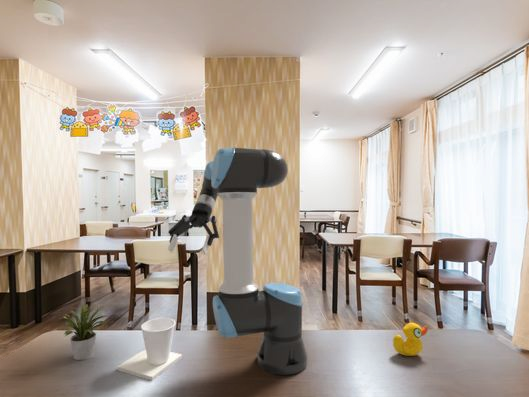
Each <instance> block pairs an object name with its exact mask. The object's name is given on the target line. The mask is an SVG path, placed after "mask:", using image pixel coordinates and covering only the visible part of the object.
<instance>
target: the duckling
mask: <svg viewBox="0 0 529 397" xmlns="http://www.w3.org/2000/svg"><path fill="white" fill-rule="evenodd" d="M428 331H429V330H428V326H427V325H424V327H421V326H420V325H419V324H417V323H415V322H409V323H407V324H405V325H404V326H403V328H402V332H403V334H404V336H405V337H406V339H405V340H404V339H403V337H402V336H401V335H400V334H396V335H395V336H394V337H393V339H392V344H393V345H392V346H393V349H394V350H395V351H396V352H397V353H398V354H399V355H403V356H406V357H414V356H418V355H419V353H420V352H422V350H423V345H424V344H423V342H422V341H421V337H423V336H425V335H426V334H427V333H428Z"/></svg>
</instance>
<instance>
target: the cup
mask: <svg viewBox="0 0 529 397" xmlns="http://www.w3.org/2000/svg"><path fill="white" fill-rule="evenodd" d="M175 326H176V321H175V319H173V318H170V317H156V318H152V319H149V320H147V321H145V322H143V323H142V324H141V325H140V329H141V331H142V336H143V341H144V346H145V349H146V354H147V359H148V362H149V363H150V364H152V365H160V364H163V363H165V362H167V361H168V359H169V357H170V352H171V349H172V343H173V338H174V337H173V336H174V331H175Z"/></svg>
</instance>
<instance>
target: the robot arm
mask: <svg viewBox="0 0 529 397" xmlns="http://www.w3.org/2000/svg"><path fill="white" fill-rule="evenodd" d="M288 168H289V167H288V164H287V161H286V160H285V158H284V157H283V156H282V155H281V154H279V153H278V152H276V151H273V150H270V149H261V148H259V149H258V148H243V147H221V148H219V149H218V150H217V151H216V153H215V155H214V157H213V160H212V161H209V162H208V163H207V164H206V166H205V170H204V172H203V179H202V180H203V181H202V184H201V188H200V192H199V195H198V197H197V199H196V201H195V204H194V206H193V209H192V210H191V215H190V216H187V215H186V214H184V215H182V217H181V219H179V221H178V222H176V223H175V225H173V226H172V227H171V228H170V229H168V231H167V232H168V234H169V236H170V239H169V244H168V247H167V249H168V251H169V252H170V253H173V252H174V250H175V247H176V245H177V244H178V241H179V236H181V235H182V234H184V233H186V232H187V231H188V230H190V229H193V228H202V227H203V228H204V230H205V231H206V233H207V234H208V235H206V238H205V241H204V244H203V247H202V250H201V251H202V253H203V254H204V255H207V253H208V251H209V247H211V246H212V244H213V241H214V239H220V235H219V232H218V227H217V218H216V216H215V215H212V213H213V211H214V207H215V205H216V202H217V198H220V199H221V200H222V247H223V248H222V253H223V254H222V255H223V259H222V260H223V262H222V263H223V283H222V284H221V285H219V287H218V294H217V295H214V296H213V297H212V310H213V316H214V320H215V321H214V322H215V325H216V329H217V330H218V333H219V335H220V336H221V337H222V338H239V337H243V336H249V335H254V334H255V335H256V334H259V333H263V336H262V341H261V343H260V345H259V349H258V352H257V364H258V366H259V367H260V368H261V369H262V370H264V371H265V372H267V373H269V374H274V375H279V376H288V375H296V374H298V373H301V372H303V370H304V369H306V368H307V366H308V352H307V350H306V349H307V348H306V346H305V342H304V340H303V334H302V333H303V296H302V292H301V291H300V289H299V288H297V287H295V286H293V285H291V284H287V283H281V282H279V283H278V282H268V283H266V284H264V285H263V287H262V290H259V289H260V288H259V285H258V284H257V283H255V281H254V257H253V255H254V253H253V252H254V251H253V248H254V246H253V245H254V243H253V203H252V202H253V199H254V198H255V197H256V195H258V194H257V193H258V189H269V188H273V187H277V186H278V185H280V184H282V183H283V182H284V181H285V179H286V178H287V175H288ZM209 222H210V223H211V225H212V230H213V232H212V231H211V229H210V227H209V226H208V223H209Z"/></svg>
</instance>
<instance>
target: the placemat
mask: <svg viewBox="0 0 529 397" xmlns="http://www.w3.org/2000/svg"><path fill="white" fill-rule="evenodd" d="M182 358H183V354H181V353H177V352H172V351H170V357H169V359H168V361H167V362H165V363H163V364H160V365H152V364H150V363H149V362H148V359H147V354H146V348H145V349H143V350H141V351H139V353H137V354H135V355H133V356H132V357H130V358H129V359H127V360H126V361H124V362H123V363H121V364H119V365H118V366H116V370H117V371H119V372H122V373H126V374H129V375H133V376H135V377H140V378H142V379H146V380H150V381H154V380H155V379H157V378H158V377H159V376H160V375H162V374H163V373H164V372H166V371H167V370H168V369H169V368H171V367H172V366H173V365H175V364H176V363H177V362H178V361H180V360H182Z"/></svg>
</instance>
